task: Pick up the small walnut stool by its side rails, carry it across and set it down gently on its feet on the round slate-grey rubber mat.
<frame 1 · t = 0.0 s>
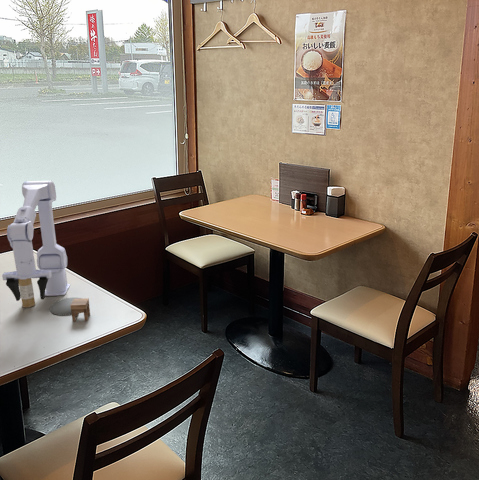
hand: (30, 299, 164), 10 cm above the table, tool pointing down, fingers open, 7 cm apart
sprinkles bottle: (28, 305, 183), on the table
mat: (69, 306, 181), on the table
stool: (81, 317, 173), on the table
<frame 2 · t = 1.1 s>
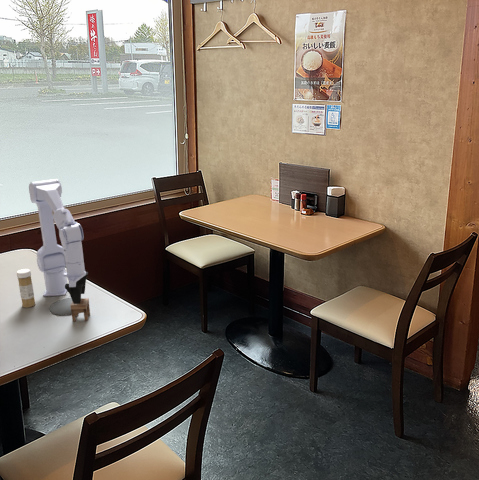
hand: (79, 298, 171), 7 cm above the table, tool pointing down, fingers open, 7 cm apart
nothing on the table moved.
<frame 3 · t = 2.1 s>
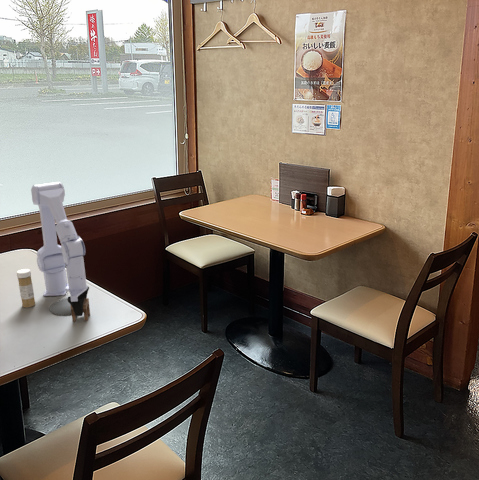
hand: (80, 311, 173), 2 cm above the table, tool pointing down, fingers closed on stool, 5 cm apart
stool: (81, 317, 173), on the table, touching gripper
everything else where it was.
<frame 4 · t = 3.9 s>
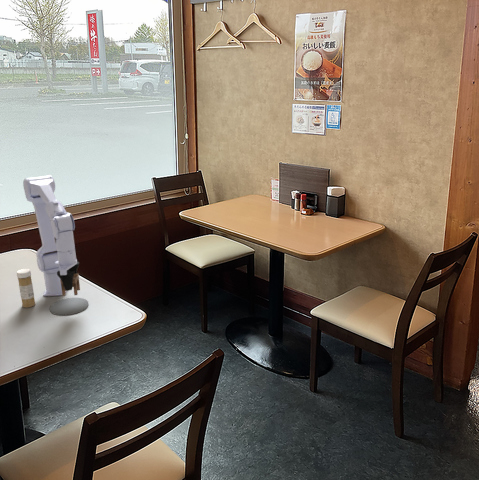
hand: (70, 286, 176), 9 cm above the table, tool pointing down, fingers closed on stool, 5 cm apart
stool: (71, 292, 176), point 7 cm above the table, touching gripper
everything else where it was.
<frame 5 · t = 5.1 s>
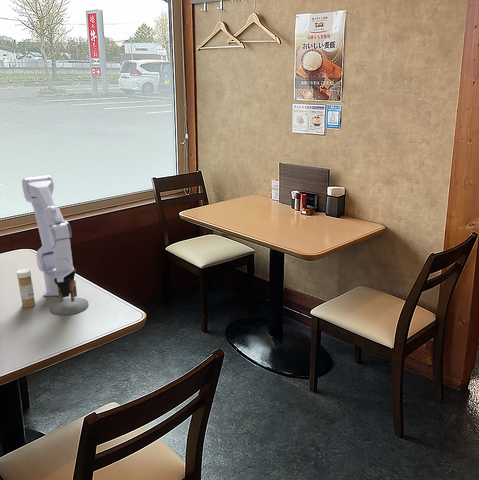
hand: (67, 293, 180), 5 cm above the table, tool pointing down, fingers closed on stool, 5 cm apart
stool: (68, 298, 180), point 3 cm above the table, touching gripper
everything else where it was.
when the fingers open (4 cm above the table, at t = 6.1 s): stool stays where it is, resting on mat.
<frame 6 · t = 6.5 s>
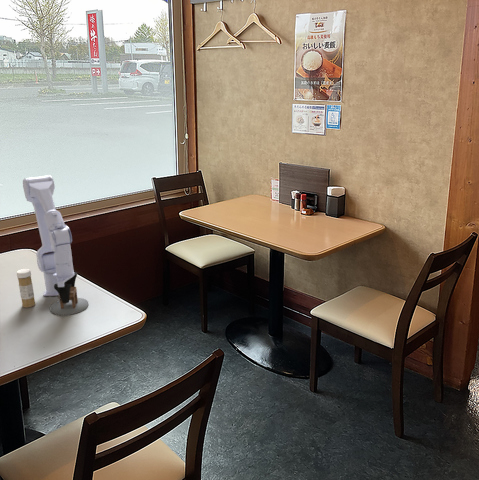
hand: (68, 297, 180), 4 cm above the table, tool pointing down, fingers open, 7 cm apart
stool: (69, 305, 181), point 1 cm above the table, touching mat
everything else where it was.
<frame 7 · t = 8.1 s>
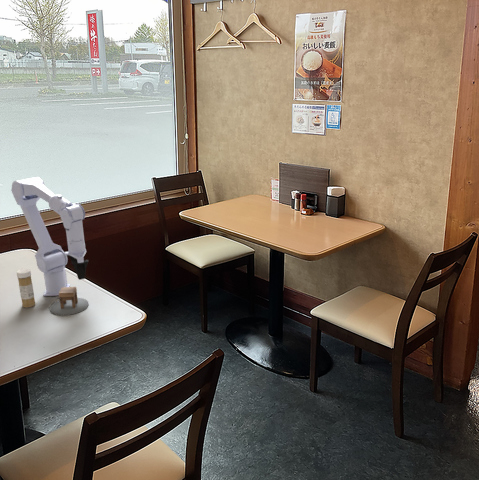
hand: (80, 275, 182), 10 cm above the table, tool pointing down, fingers open, 7 cm apart
nothing on the table moved.
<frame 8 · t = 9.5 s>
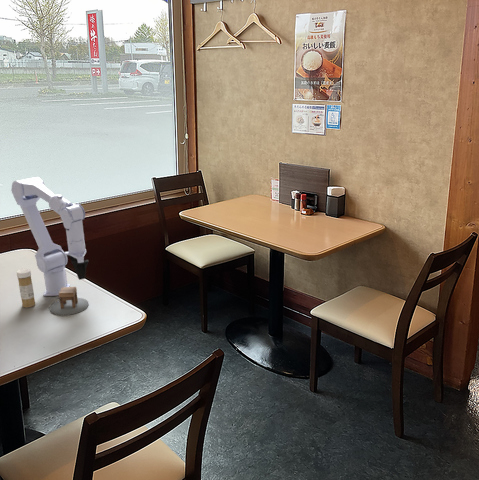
hand: (80, 275, 182), 10 cm above the table, tool pointing down, fingers open, 7 cm apart
nothing on the table moved.
at the end: stool 0.0 cm off-centre on the mat, point 0.6 cm above the mat's base; stool tilted 0°; the gripper is holding nothing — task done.
